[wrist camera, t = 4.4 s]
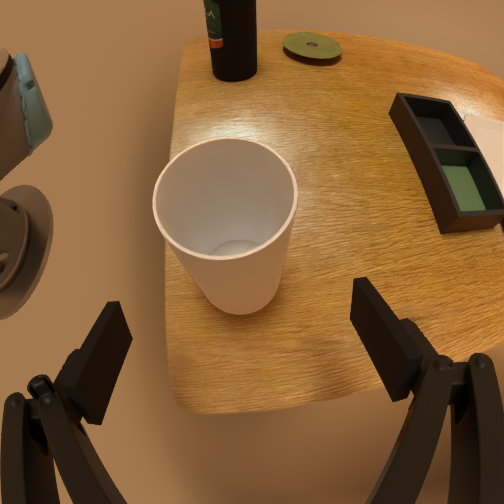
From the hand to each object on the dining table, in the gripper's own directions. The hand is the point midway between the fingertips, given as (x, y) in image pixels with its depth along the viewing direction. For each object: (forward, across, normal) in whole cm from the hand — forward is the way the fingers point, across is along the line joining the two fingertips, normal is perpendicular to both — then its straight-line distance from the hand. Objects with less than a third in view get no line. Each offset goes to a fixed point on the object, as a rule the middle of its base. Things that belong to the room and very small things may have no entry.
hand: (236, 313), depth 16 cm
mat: (+44, +17, +24) cm, 53 cm away
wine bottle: (+40, +2, +20) cm, 45 cm away
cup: (+14, 0, -5) cm, 15 cm away
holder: (+24, +31, +4) cm, 39 cm away
